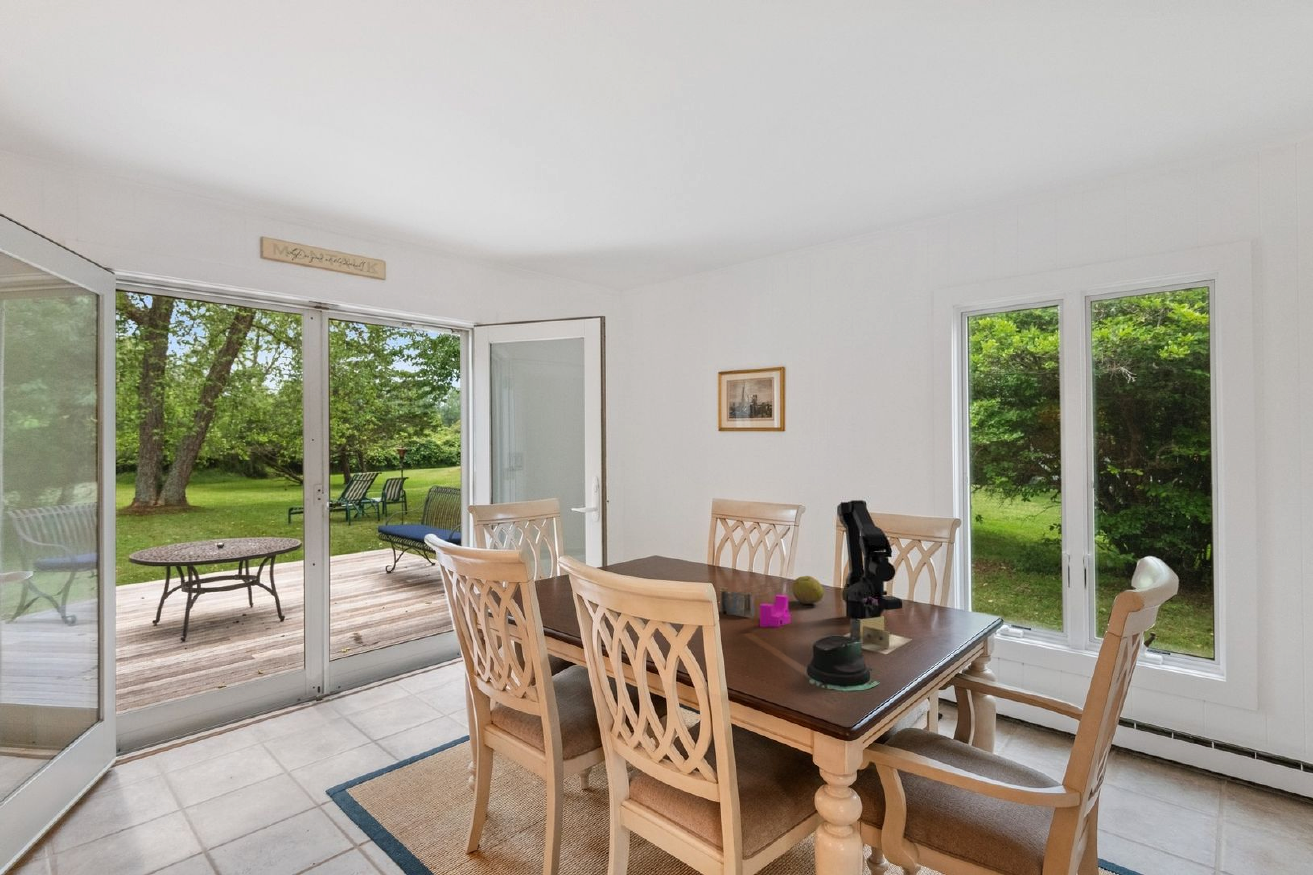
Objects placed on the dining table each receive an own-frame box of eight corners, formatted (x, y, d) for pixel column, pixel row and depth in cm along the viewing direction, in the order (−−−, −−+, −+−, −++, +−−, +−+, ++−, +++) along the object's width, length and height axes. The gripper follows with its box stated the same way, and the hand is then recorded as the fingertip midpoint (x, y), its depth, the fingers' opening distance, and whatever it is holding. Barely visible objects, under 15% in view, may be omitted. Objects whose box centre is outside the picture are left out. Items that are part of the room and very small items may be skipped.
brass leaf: (860, 637, 180) (860, 619, 180) (857, 635, 181) (857, 618, 181) (884, 634, 183) (884, 616, 183) (881, 632, 184) (881, 615, 184)
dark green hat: (814, 656, 170) (814, 623, 170) (888, 671, 159) (888, 635, 159) (787, 680, 153) (787, 643, 153) (867, 698, 142) (867, 659, 142)
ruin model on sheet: (720, 614, 211) (720, 586, 211) (724, 612, 214) (724, 584, 214) (750, 619, 205) (750, 590, 205) (754, 617, 208) (753, 588, 208)
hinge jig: (833, 644, 178) (833, 621, 178) (861, 631, 190) (861, 609, 190) (885, 658, 167) (885, 633, 167) (912, 643, 178) (912, 620, 178)
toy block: (778, 631, 191) (778, 607, 191) (760, 628, 195) (760, 604, 195) (795, 619, 204) (795, 596, 204) (777, 616, 207) (777, 594, 207)
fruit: (793, 607, 217) (792, 579, 217) (791, 599, 228) (791, 572, 228) (825, 609, 215) (825, 580, 215) (821, 600, 227) (821, 573, 227)
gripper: (833, 569, 191) (833, 618, 191) (871, 582, 173) (871, 637, 173) (862, 566, 194) (862, 615, 194) (903, 579, 177) (903, 633, 177)
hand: (874, 624), depth 185 cm, fingers closed
